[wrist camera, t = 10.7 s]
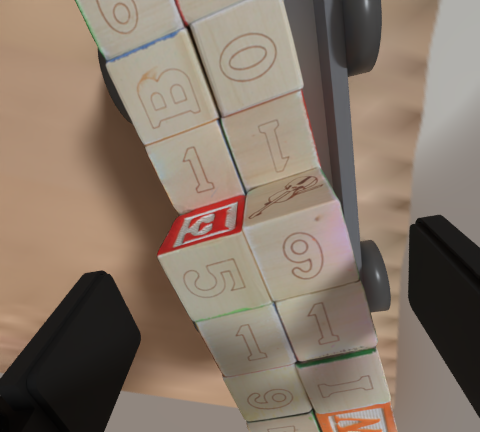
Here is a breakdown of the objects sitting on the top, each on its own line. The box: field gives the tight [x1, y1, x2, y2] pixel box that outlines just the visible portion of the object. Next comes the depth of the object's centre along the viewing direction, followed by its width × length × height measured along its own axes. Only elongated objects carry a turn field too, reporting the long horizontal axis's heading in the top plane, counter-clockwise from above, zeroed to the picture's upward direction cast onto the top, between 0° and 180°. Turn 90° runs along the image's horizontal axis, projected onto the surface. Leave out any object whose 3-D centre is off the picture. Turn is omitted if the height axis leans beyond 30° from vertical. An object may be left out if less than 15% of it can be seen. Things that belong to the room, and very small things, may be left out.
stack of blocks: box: [75, 0, 398, 432], centre depth 16 cm, size 21×6×12 cm, turn 19°
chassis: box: [98, 0, 391, 333], centre depth 20 cm, size 26×13×5 cm, turn 12°
